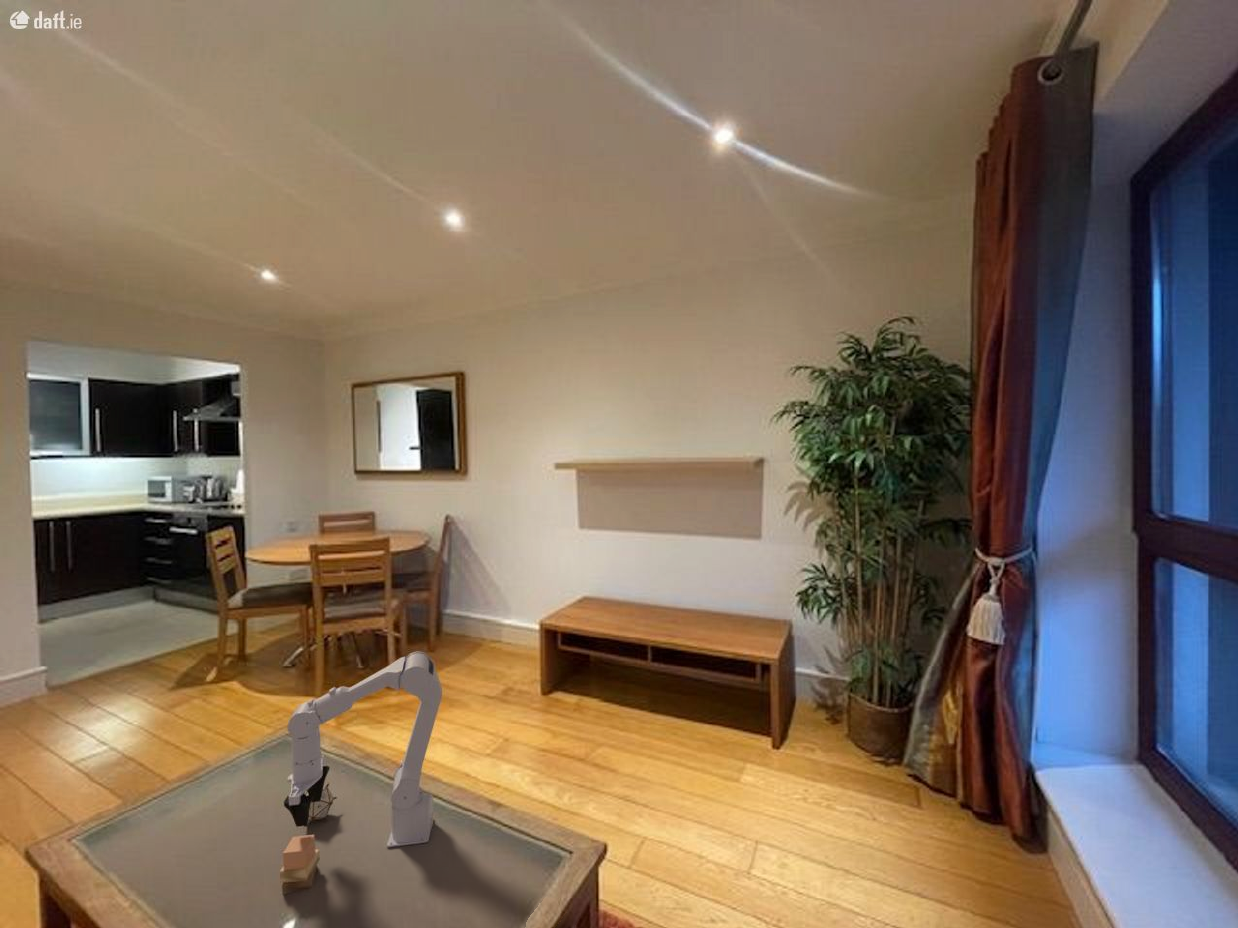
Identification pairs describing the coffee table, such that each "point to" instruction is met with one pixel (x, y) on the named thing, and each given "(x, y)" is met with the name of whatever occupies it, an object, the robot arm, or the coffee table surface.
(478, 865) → the coffee table surface
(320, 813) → the game die
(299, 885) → the walnut slab
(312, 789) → the robot arm
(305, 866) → the terracotta block
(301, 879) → the oak slab
